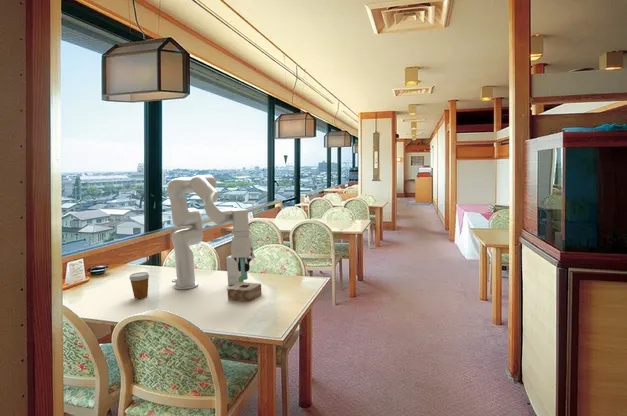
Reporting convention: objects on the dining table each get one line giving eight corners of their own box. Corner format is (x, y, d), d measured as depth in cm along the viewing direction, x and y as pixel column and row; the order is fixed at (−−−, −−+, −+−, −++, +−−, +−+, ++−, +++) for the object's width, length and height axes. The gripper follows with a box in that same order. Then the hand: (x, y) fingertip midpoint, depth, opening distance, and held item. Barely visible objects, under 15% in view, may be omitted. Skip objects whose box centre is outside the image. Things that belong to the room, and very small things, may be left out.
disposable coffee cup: (155, 294, 217) (153, 272, 216) (142, 300, 208) (140, 277, 207) (140, 293, 220) (138, 271, 219) (126, 299, 211) (124, 276, 210)
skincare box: (238, 285, 228) (236, 257, 226) (227, 285, 229) (225, 257, 227) (244, 281, 236) (242, 254, 234) (233, 281, 237) (231, 254, 236)
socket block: (228, 299, 204) (227, 288, 203) (241, 292, 215) (240, 282, 214) (249, 301, 200) (248, 290, 199) (261, 294, 211) (261, 283, 210)
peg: (240, 279, 205) (238, 255, 204) (243, 278, 208) (241, 254, 207) (245, 280, 204) (243, 255, 203) (248, 278, 207) (247, 254, 206)
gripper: (222, 235, 204) (225, 272, 205) (252, 235, 197) (254, 273, 199) (231, 232, 210) (233, 268, 212) (259, 233, 204) (262, 269, 206)
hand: (244, 270), depth 206 cm, fingers closed on peg, 3 cm apart
